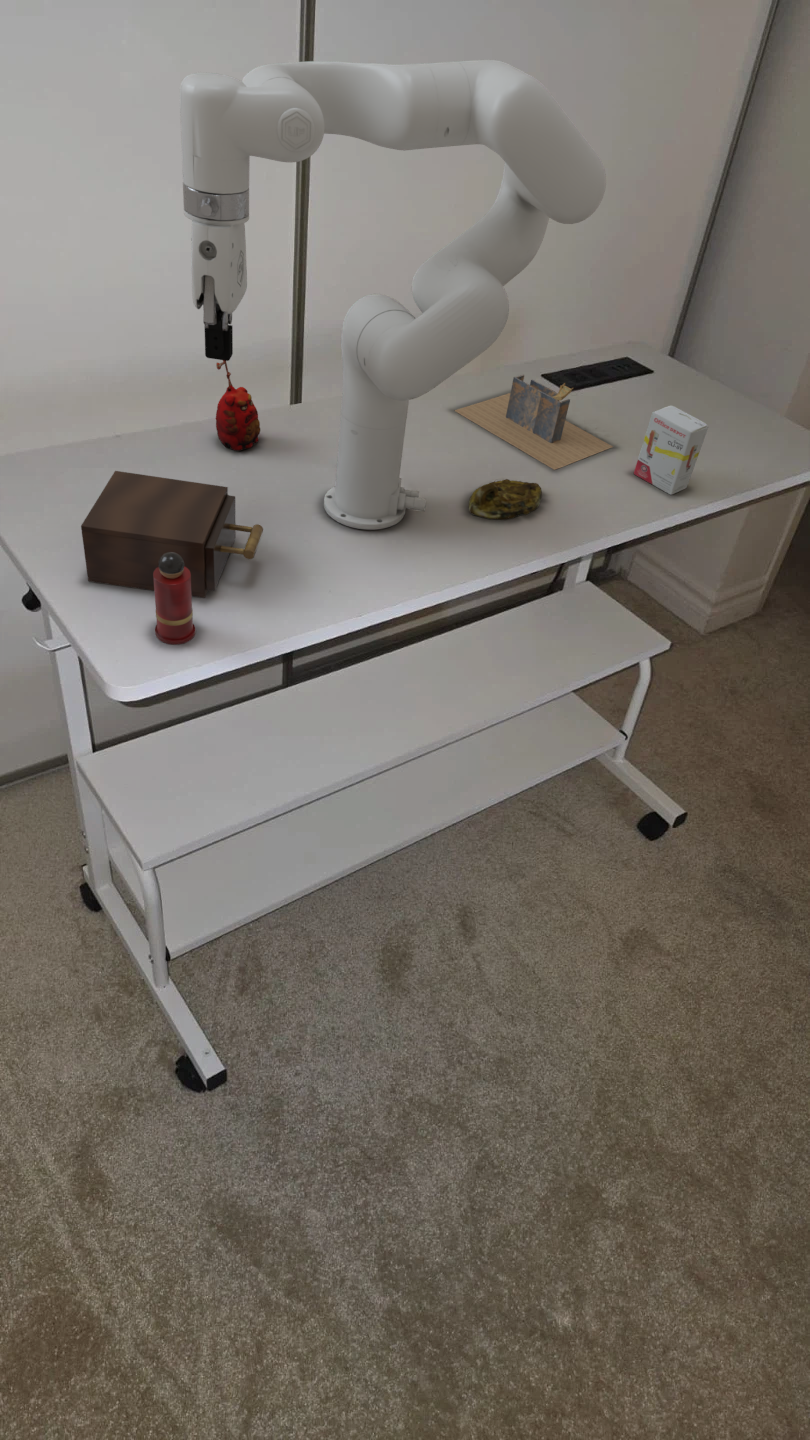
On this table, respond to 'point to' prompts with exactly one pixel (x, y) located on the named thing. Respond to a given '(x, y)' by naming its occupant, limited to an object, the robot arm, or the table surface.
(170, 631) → the red cylinder
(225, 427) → the red clay folk toy
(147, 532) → the cabinet
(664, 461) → the ink box
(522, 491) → the mottled olive oval lump
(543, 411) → the ruin model on sheet
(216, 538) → the drawer
